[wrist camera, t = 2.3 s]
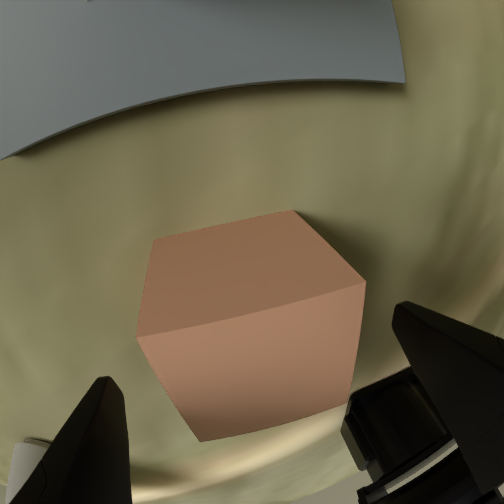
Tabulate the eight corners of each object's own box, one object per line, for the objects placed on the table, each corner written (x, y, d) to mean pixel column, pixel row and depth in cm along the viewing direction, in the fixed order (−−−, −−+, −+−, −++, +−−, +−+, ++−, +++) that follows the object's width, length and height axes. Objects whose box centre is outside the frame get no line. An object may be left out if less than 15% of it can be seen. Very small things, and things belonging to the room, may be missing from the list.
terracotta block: (292, 208, 10) (366, 281, 6) (299, 315, 13) (347, 402, 8) (154, 239, 10) (135, 337, 5) (189, 341, 12) (199, 442, 8)
